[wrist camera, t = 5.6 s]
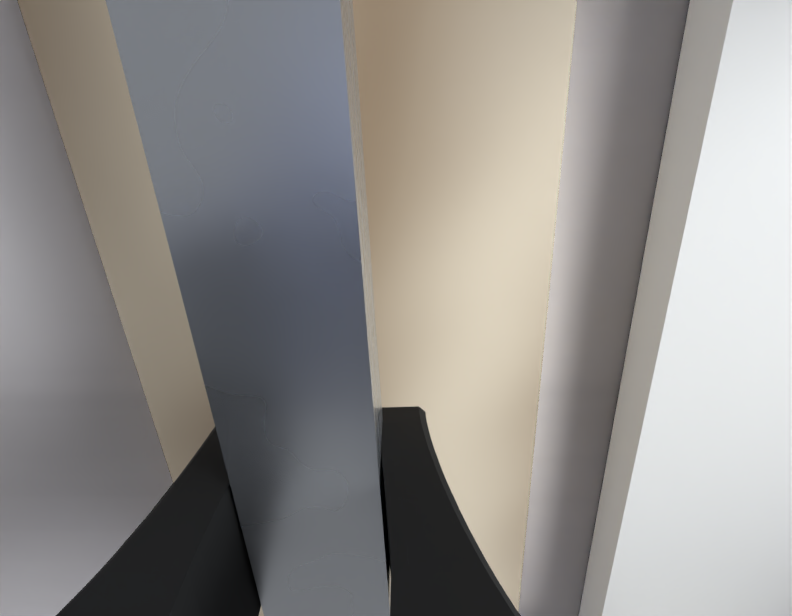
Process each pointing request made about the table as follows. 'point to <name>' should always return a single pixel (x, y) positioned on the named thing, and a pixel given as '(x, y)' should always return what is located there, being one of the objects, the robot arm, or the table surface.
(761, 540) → the bracket stand
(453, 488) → the beech board
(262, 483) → the steel rail
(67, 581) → the table surface
